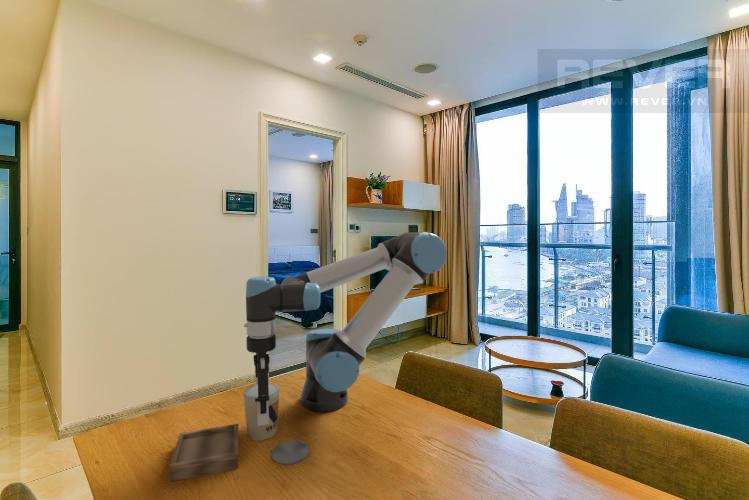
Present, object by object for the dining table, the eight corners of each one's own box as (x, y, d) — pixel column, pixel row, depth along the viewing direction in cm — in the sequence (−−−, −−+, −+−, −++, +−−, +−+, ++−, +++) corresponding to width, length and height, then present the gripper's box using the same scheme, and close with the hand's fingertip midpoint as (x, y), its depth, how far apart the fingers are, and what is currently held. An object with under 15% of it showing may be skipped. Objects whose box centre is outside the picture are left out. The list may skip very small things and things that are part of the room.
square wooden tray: (238, 436, 98) (238, 423, 98) (238, 468, 85) (237, 453, 85) (180, 446, 94) (179, 433, 93) (169, 482, 80) (169, 466, 80)
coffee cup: (269, 444, 95) (269, 398, 94) (236, 439, 97) (236, 395, 96) (285, 425, 104) (285, 383, 103) (255, 421, 106) (254, 380, 105)
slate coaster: (305, 440, 97) (305, 437, 97) (311, 460, 88) (311, 457, 88) (269, 446, 94) (269, 444, 94) (272, 468, 85) (272, 465, 85)
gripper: (246, 324, 109) (246, 394, 110) (247, 350, 86) (247, 438, 87) (272, 322, 112) (272, 390, 113) (280, 347, 88) (280, 433, 90)
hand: (261, 411), depth 100 cm, fingers open, 13 cm apart
